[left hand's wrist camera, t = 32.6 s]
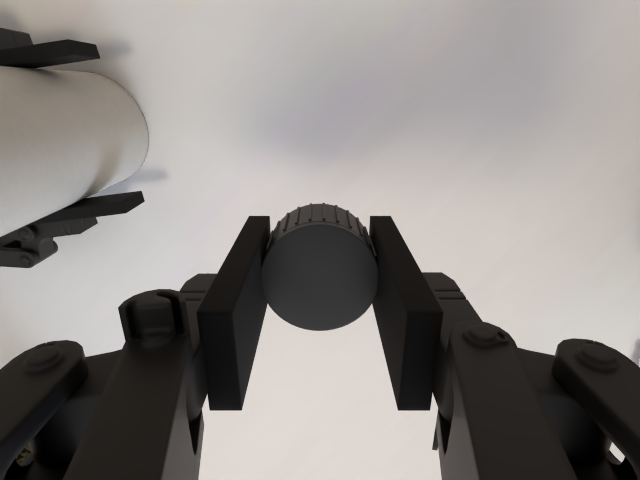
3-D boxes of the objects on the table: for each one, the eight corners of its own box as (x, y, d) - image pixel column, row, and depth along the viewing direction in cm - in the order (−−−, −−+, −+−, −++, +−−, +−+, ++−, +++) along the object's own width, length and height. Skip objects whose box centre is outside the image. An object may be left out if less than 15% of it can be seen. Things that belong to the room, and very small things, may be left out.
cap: (249, 225, 14) (236, 250, 12) (350, 184, 13) (355, 203, 11) (293, 311, 15) (288, 347, 13) (386, 277, 15) (397, 309, 13)
